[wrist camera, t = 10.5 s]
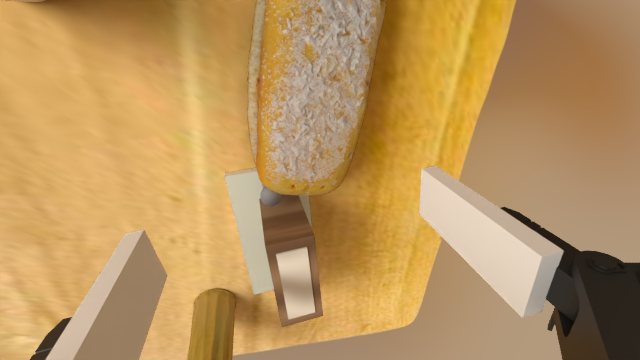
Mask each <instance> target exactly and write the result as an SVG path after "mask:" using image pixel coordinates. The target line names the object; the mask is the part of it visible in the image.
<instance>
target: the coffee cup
mask: <svg viewBox="0 0 640 360" xmlns="http://www.w3.org/2000/svg"><path fill="white" fill-rule="evenodd" d="M5 1H20V2H42V1H46V0H5Z"/></svg>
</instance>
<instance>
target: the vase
mask: <svg viewBox="0 0 640 360" xmlns="http://www.w3.org/2000/svg"><path fill="white" fill-rule="evenodd" d="M235 306H236V299H235V297H234V295H233V294H232V293H230V292H229V291H226V290H223V289H212V290H208V291H205V292H203V293H202V294H200V295H199V296H198V297H197V298H196V300H195V302H194V311H193V319H192V328H191V338H190V345H189V351H188V358H187V360H232V355H233V335H234V319H235V316H234V312H235Z"/></svg>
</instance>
